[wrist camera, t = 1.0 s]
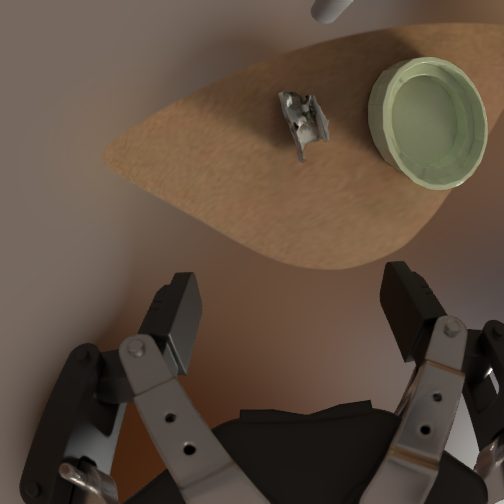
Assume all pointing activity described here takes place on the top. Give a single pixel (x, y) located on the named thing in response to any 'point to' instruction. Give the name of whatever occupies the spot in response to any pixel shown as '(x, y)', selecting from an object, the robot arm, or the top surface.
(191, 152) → the top surface
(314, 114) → the crumpled paper
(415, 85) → the bowl
